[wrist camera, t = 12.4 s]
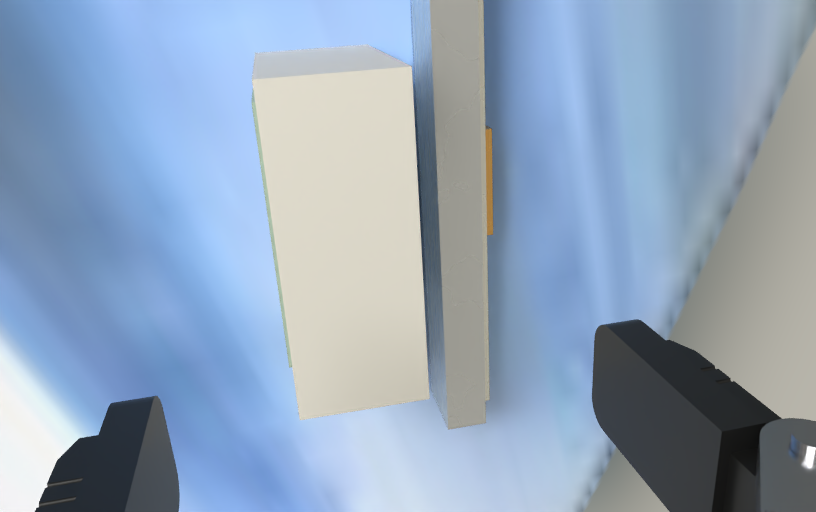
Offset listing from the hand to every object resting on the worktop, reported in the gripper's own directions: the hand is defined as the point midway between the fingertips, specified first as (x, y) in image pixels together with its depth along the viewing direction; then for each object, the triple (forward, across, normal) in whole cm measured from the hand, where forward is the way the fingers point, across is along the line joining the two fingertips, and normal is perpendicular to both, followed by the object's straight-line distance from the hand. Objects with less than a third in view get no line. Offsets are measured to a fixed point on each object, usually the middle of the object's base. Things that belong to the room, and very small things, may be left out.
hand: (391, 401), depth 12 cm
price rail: (+15, -5, 0) cm, 16 cm away
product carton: (+15, 0, 0) cm, 15 cm away
